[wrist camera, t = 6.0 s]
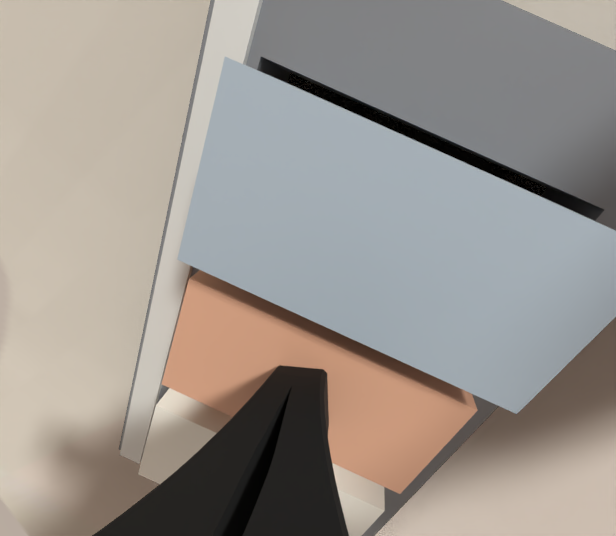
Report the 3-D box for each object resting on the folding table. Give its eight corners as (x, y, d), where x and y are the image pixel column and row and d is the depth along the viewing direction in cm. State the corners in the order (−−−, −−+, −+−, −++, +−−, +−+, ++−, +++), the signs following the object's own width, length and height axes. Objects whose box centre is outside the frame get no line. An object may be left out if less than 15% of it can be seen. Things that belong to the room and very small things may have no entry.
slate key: (559, 205, 9) (675, 257, 5) (471, 319, 11) (516, 414, 7) (283, 81, 9) (224, 56, 5) (241, 215, 11) (177, 259, 7)
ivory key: (383, 415, 14) (384, 510, 11) (343, 469, 16) (334, 565, 12) (210, 336, 14) (155, 405, 11) (189, 398, 16) (137, 474, 12)
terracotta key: (448, 326, 12) (477, 410, 8) (394, 400, 14) (400, 493, 10) (243, 233, 12) (189, 278, 8) (216, 318, 14) (161, 384, 10)
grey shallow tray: (661, 120, 9) (785, 120, 7) (356, 493, 18) (352, 562, 15) (275, -50, 10) (230, -124, 7) (157, 401, 18) (115, 453, 15)
